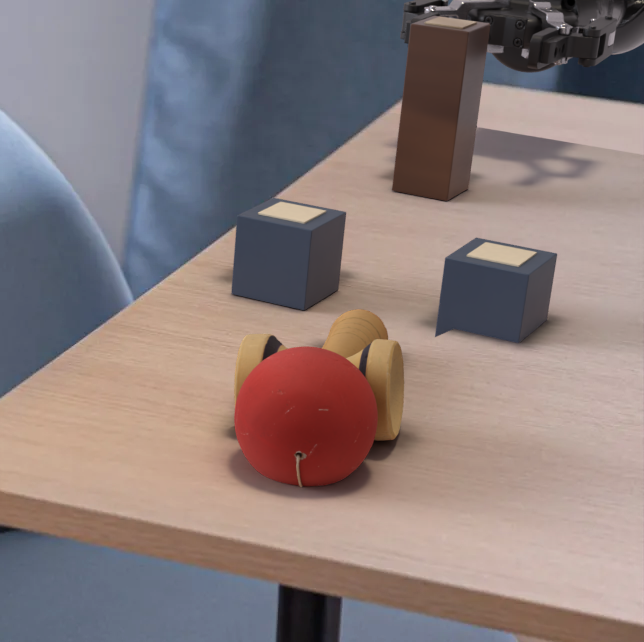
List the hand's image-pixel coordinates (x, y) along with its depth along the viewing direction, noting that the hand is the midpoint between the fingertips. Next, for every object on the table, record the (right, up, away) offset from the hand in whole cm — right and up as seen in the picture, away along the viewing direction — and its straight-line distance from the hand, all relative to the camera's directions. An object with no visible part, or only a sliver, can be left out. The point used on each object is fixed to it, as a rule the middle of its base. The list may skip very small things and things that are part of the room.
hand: (472, 44), depth 119 cm
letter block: (-3, -10, 0) cm, 10 cm away
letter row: (-9, -21, -23) cm, 33 cm away
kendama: (-15, -28, -38) cm, 50 cm away
